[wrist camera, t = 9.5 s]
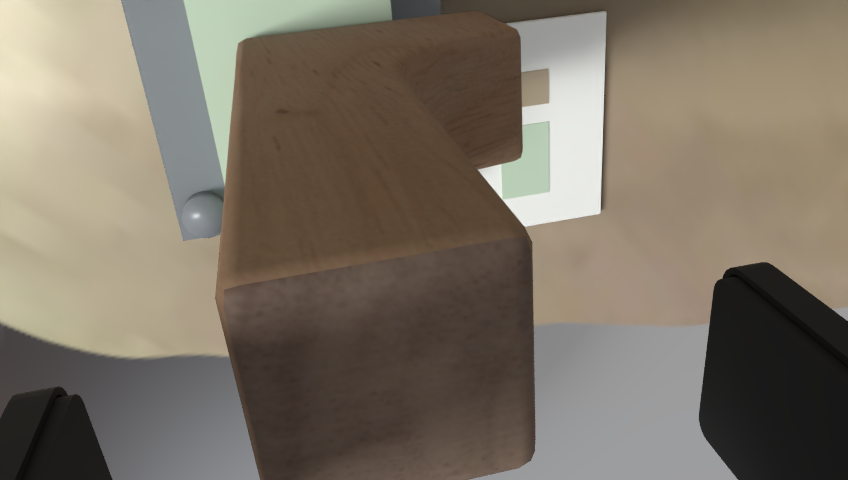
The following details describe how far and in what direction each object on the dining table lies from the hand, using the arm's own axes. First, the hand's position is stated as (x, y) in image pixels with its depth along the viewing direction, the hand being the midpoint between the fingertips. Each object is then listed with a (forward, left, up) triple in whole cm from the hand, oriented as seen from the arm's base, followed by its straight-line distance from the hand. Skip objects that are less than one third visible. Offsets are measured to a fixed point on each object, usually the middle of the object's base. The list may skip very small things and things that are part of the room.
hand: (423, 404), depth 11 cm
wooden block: (-2, 0, -18) cm, 18 cm away
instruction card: (-9, +4, -23) cm, 25 cm away
